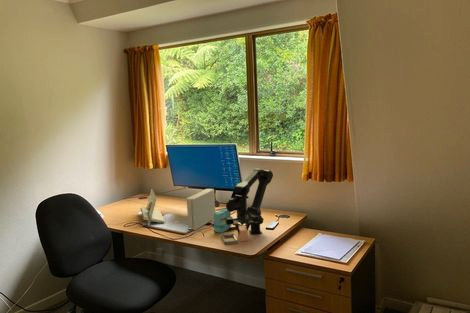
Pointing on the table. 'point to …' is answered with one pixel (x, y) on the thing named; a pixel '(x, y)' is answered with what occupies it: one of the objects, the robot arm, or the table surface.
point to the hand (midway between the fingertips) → (242, 234)
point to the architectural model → (151, 211)
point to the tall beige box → (243, 233)
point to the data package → (221, 220)
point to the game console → (200, 208)
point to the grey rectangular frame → (229, 241)
